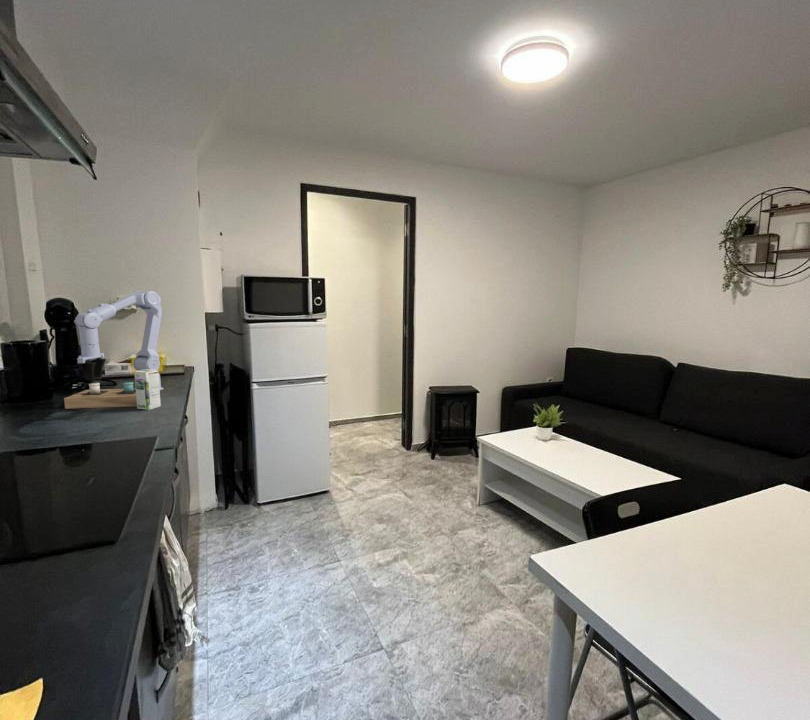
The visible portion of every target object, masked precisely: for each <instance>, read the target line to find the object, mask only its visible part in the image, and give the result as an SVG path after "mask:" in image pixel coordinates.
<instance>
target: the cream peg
mask: <svg viewBox="0 0 810 720" xmlns="http://www.w3.org/2000/svg"><path fill="white" fill-rule="evenodd" d="M100 385H101V383H100V382H91V383H88V386H89V390H90V394H96V393H100V390H101V388H100V387H101V386H100Z"/></svg>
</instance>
